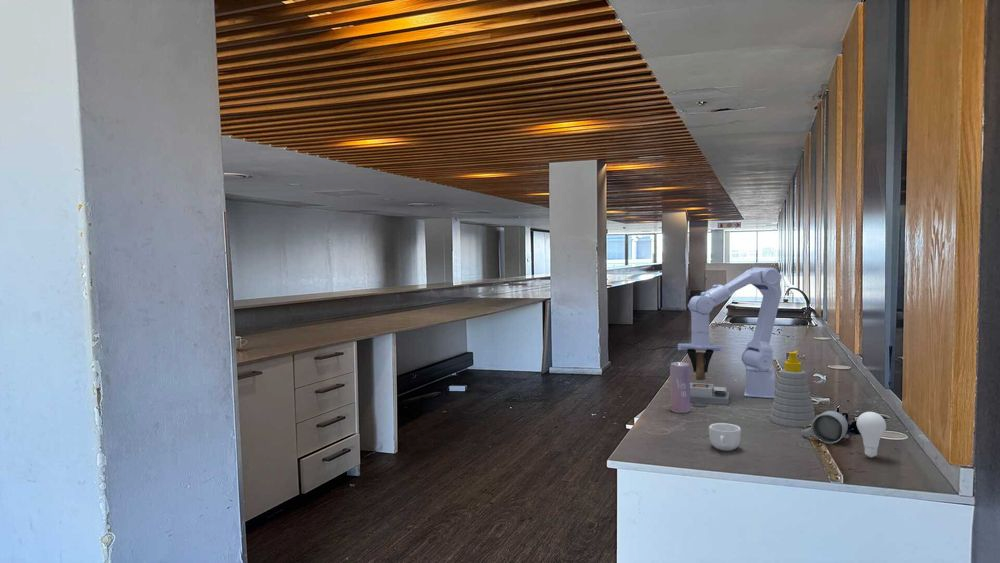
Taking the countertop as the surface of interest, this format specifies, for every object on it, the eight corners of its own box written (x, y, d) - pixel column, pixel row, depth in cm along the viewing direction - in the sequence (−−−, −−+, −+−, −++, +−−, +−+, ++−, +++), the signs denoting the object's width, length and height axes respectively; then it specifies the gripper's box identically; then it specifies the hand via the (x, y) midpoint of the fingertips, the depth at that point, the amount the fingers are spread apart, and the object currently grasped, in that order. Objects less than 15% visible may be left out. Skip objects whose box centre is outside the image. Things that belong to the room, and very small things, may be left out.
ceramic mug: (849, 438, 166) (848, 409, 166) (843, 446, 160) (843, 416, 159) (805, 432, 173) (805, 404, 172) (798, 440, 166) (798, 411, 166)
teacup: (711, 442, 165) (711, 421, 165) (742, 445, 162) (742, 425, 162) (705, 453, 157) (705, 431, 156) (737, 457, 153) (737, 435, 153)
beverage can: (688, 408, 200) (687, 361, 199) (691, 413, 194) (691, 365, 193) (668, 408, 201) (668, 362, 200) (672, 413, 195) (671, 365, 194)
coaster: (707, 404, 205) (707, 403, 205) (706, 407, 201) (706, 406, 201) (693, 403, 207) (692, 402, 207) (691, 406, 202) (691, 405, 202)
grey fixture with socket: (729, 397, 214) (729, 384, 213) (728, 405, 204) (728, 391, 203) (690, 394, 219) (690, 381, 219) (686, 402, 209) (686, 388, 208)
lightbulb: (850, 453, 154) (851, 409, 153) (874, 452, 154) (874, 408, 154) (867, 462, 148) (867, 415, 147) (891, 460, 148) (892, 414, 148)
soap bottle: (822, 420, 183) (822, 351, 182) (808, 430, 174) (808, 357, 173) (778, 413, 192) (778, 347, 191) (763, 422, 183) (763, 353, 182)
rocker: (726, 391, 212) (726, 387, 212) (725, 391, 206) (725, 387, 206) (715, 391, 213) (715, 387, 214) (713, 390, 207) (713, 386, 207)
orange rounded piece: (706, 389, 213) (706, 385, 213) (705, 391, 210) (705, 387, 210) (695, 388, 214) (695, 384, 214) (694, 390, 211) (694, 386, 211)
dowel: (705, 378, 213) (705, 352, 212) (705, 380, 210) (705, 353, 209) (695, 378, 213) (695, 351, 213) (695, 380, 211) (695, 353, 210)
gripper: (676, 332, 210) (676, 372, 211) (722, 333, 205) (722, 375, 205) (679, 329, 217) (679, 368, 217) (723, 331, 211) (723, 371, 212)
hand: (700, 371), depth 212 cm, fingers closed on dowel, 3 cm apart
